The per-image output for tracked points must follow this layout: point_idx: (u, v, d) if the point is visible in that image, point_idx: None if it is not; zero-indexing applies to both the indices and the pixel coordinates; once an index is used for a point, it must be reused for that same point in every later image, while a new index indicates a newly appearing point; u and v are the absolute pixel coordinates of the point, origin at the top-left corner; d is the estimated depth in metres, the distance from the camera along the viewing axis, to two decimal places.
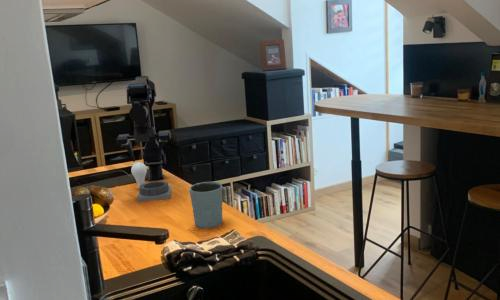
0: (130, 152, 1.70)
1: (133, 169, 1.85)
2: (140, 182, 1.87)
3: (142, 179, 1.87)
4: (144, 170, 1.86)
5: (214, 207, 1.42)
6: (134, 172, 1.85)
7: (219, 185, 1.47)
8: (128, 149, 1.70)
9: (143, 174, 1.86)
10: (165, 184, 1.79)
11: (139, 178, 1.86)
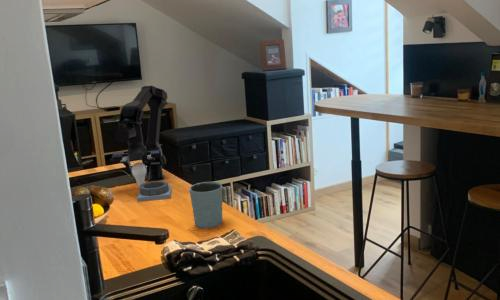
0: (128, 168, 1.86)
1: (133, 169, 1.85)
2: (140, 182, 1.87)
3: (142, 179, 1.87)
4: (144, 170, 1.86)
5: (214, 207, 1.42)
6: (134, 172, 1.85)
7: (219, 185, 1.47)
8: (126, 165, 1.85)
9: (143, 174, 1.86)
10: (165, 184, 1.79)
11: (139, 178, 1.86)
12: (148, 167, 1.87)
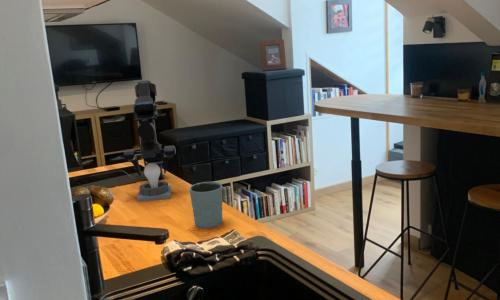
0: (136, 167, 1.76)
1: (146, 170, 1.76)
2: (153, 184, 1.78)
3: (155, 181, 1.78)
4: (157, 171, 1.76)
5: (214, 207, 1.42)
6: (147, 173, 1.76)
7: (219, 185, 1.47)
8: (134, 164, 1.75)
9: (156, 175, 1.77)
10: (165, 184, 1.79)
11: (152, 180, 1.77)
12: (165, 165, 1.77)
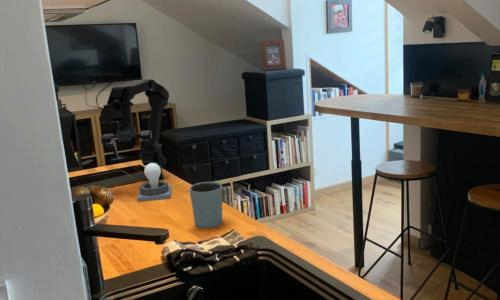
0: (114, 150, 1.84)
1: (146, 170, 1.76)
2: (153, 184, 1.78)
3: (156, 181, 1.78)
4: (158, 171, 1.77)
5: (214, 207, 1.42)
6: (147, 173, 1.76)
7: (219, 185, 1.47)
8: (112, 148, 1.83)
9: (157, 175, 1.77)
10: (165, 184, 1.79)
11: (153, 179, 1.77)
12: (142, 149, 1.85)
